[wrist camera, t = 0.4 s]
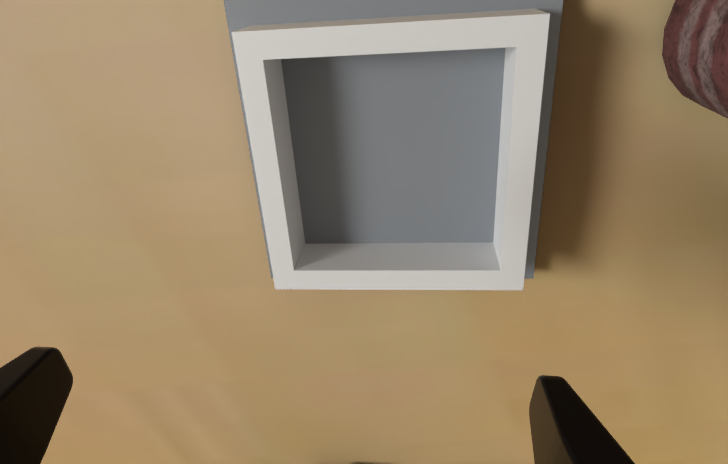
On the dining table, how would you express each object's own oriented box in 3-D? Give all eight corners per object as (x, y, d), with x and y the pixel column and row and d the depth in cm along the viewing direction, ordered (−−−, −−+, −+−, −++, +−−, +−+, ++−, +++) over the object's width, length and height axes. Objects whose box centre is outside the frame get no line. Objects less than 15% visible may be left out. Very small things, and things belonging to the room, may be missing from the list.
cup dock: (529, 267, 25) (544, 309, 22) (276, 268, 27) (257, 306, 24) (559, -24, 19) (585, -23, 16) (231, -2, 21) (198, 3, 18)
